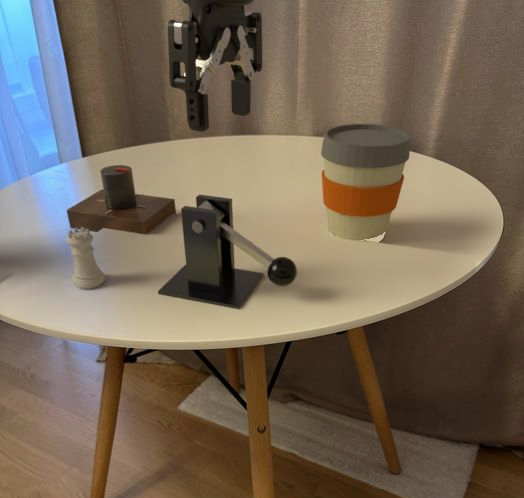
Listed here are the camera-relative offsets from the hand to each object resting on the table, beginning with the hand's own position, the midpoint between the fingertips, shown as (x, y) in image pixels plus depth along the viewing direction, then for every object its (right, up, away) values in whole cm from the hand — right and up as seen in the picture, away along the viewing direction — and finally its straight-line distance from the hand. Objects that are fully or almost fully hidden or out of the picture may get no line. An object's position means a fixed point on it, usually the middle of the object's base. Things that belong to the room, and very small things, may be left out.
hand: (220, 122), depth 63 cm
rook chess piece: (-18, -18, +10) cm, 27 cm away
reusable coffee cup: (+20, -8, +24) cm, 32 cm away
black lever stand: (-2, -18, +9) cm, 21 cm away
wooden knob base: (-18, -5, +28) cm, 33 cm away
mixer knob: (-18, -2, +26) cm, 32 cm away
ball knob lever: (+2, -15, +5) cm, 15 cm away
